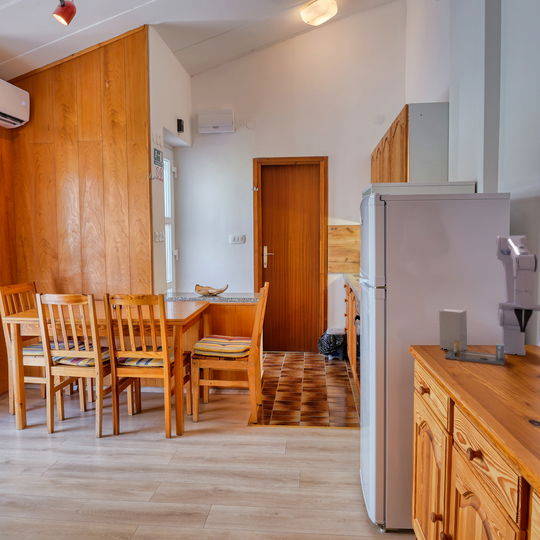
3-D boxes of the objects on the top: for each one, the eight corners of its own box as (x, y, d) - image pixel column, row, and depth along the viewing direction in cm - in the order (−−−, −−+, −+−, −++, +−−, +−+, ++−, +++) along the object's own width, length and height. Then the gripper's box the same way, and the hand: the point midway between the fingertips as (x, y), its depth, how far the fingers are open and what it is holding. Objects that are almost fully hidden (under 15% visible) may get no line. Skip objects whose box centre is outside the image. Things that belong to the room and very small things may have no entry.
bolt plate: (449, 351, 168) (450, 338, 167) (505, 357, 159) (505, 343, 159) (445, 358, 158) (445, 344, 158) (503, 365, 149) (504, 350, 149)
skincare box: (467, 350, 170) (468, 310, 169) (460, 352, 166) (461, 312, 165) (445, 346, 176) (446, 307, 175) (438, 348, 172) (439, 309, 171)
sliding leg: (496, 354, 158) (496, 343, 157) (503, 355, 156) (504, 344, 156) (494, 359, 152) (495, 347, 151) (502, 360, 150) (503, 348, 150)
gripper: (498, 290, 151) (497, 331, 152) (550, 293, 144) (548, 336, 145) (499, 289, 157) (498, 328, 158) (549, 291, 150) (548, 332, 151)
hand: (522, 332), depth 152 cm, fingers closed
